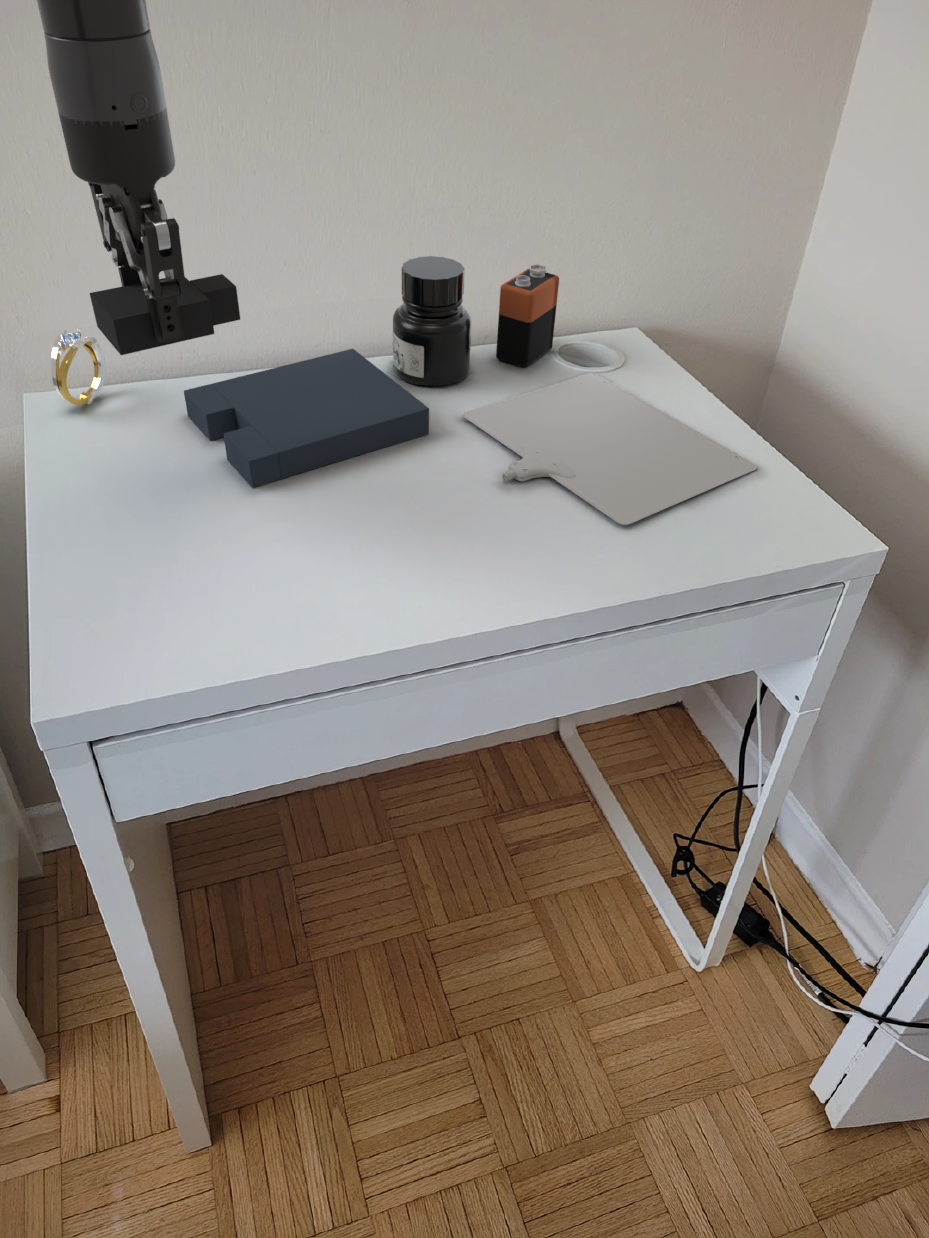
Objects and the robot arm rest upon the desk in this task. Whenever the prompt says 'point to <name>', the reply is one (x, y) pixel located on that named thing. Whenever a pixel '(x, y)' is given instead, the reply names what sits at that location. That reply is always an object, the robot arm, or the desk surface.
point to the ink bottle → (432, 323)
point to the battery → (527, 316)
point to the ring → (61, 371)
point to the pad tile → (130, 320)
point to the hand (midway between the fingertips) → (154, 323)
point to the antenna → (607, 447)
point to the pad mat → (305, 415)
